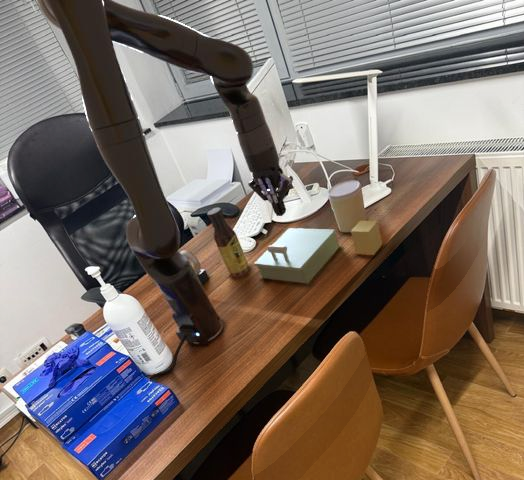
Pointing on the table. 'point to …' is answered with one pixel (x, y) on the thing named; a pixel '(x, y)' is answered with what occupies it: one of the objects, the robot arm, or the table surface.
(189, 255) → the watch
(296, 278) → the box
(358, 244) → the block
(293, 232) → the lid
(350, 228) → the coffee cup
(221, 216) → the sauce bottle
